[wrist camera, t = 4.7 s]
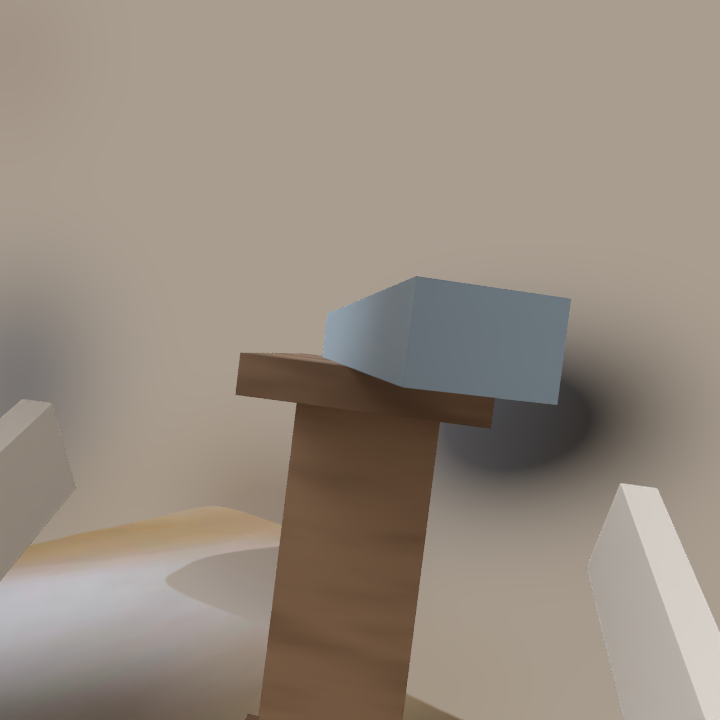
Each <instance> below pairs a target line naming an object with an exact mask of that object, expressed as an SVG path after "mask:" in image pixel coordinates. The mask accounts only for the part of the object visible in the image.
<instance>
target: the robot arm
mask: <svg viewBox="0 0 720 720" xmlns="http://www.w3.org/2000/svg"><path fill="white" fill-rule="evenodd" d="M75 489H76V487H75V483H74V480H73V476H72V472H71V469H70V465H69V462H68V458H67V454H66V450H65V447H64V443H63V440H62V436H61V432H60V429H59V425H58V421H57V418H56V414H55V410H54V407H53V404H52V403H47V402H39V401H33V400H25V399H22V400H21V401H20V402H19V403H18V404H16V405H15V406H14V407H13V408H12V409H11V410H9V411H8V412H7V413H6V414H5V415H4V416H2V417H1V418H0V581H1V579H2V578H3V577H4V576H5V574H6V573H7V572H8V571H9V570H10V568H11V567H12V566H13V565H14V563H15V562H16V561H17V560H18V559H19V557H20V556H21V555H22V554H23V552H24V551H25V550H26V549H27V548H28V546H29V545H30V544H31V543H32V541H33V540H34V539H35V538H36V537H37V535H38V534H39V533H40V532H41V530H42V529H43V528H44V527H45V526H46V524H47V523H48V522H49V521H50V519H51V518H52V517H53V516H54V515H55V513H56V512H57V511H58V510H59V508H60V507H61V506H62V505H63V503H64V502H65V501H66V500H67V499H68V497H69V496H70V494H72V493H73V491H74V490H75ZM587 571H588V576H589V580H590V584H591V588H592V592H593V596H594V601H595V605H596V609H597V613H598V617H599V621H600V626H601V630H602V634H603V638H604V642H605V646H606V651H607V655H608V659H609V663H610V667H611V671H612V676H613V680H614V684H615V688H616V692H617V696H618V700H619V705H620V709H621V713H622V717H623V720H720V632H719V630H718V627H717V625H716V623H715V620H714V618H713V616H712V614H711V612H710V609H709V607H708V604H707V602H706V600H705V598H704V595H703V593H702V591H701V588H700V586H699V584H698V582H697V579H696V577H695V574H694V572H693V570H692V567H691V566H690V563H689V561H688V558H687V556H686V554H685V551H684V549H683V547H682V545H681V542H680V540H679V538H678V536H677V533H676V531H675V528H674V526H673V524H672V522H671V519H670V517H669V515H668V512H667V510H666V508H665V505H664V503H663V501H662V498H661V496H660V494H659V491H658V489H657V488H650V487H644V486H637V485H630V484H622V483H620V486H619V488H618V491H617V493H616V496H615V498H614V500H613V503H612V505H611V508H610V510H609V513H608V516H607V518H606V520H605V523H604V525H603V528H602V530H601V533H600V535H599V538H598V540H597V543H596V545H595V548H594V550H593V553H592V555H591V558H590V560H589V562H588V565H587Z"/></svg>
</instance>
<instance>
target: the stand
mask: <svg viewBox="0 0 720 720" xmlns="http://www.w3.org/2000/svg"><path fill="white" fill-rule="evenodd" d="M236 395H242V396H249V397H257V398H264V399H272V400H280V401H287V402H294V403H297V405H296V413H295V422H294V430H293V438H292V447H291V456H290V463H289V471H288V480H287V488H286V496H285V504H284V513H283V521H282V529H281V538H280V546H279V555H278V562H277V571H276V579H275V587H274V595H273V604H272V612H271V620H270V629H269V637H268V645H267V653H266V662H265V670H264V678H263V686H262V695H261V703H260V711H259V716H256V715H251V714H248V715H247V717H246V719H245V720H402V718H403V710H404V702H405V695H406V687H407V678H408V671H409V670H408V669H409V663H410V654H411V647H412V639H413V631H414V623H415V615H416V607H417V599H418V591H419V583H420V576H421V568H422V560H423V552H424V544H425V536H426V528H427V520H428V512H429V504H430V496H431V488H432V480H433V472H434V465H435V457H436V448H437V440H438V432H439V425H440V422H445V423H452V424H459V425H467V426H474V427H482V428H490V429H491V423H492V416H493V408H494V399H495V398H493V397H484V396H475V395H467V394H458V393H449V392H440V391H431V390H422V389H414V388H405V387H401V386H398V385H395V384H393V383H390V382H387V381H385V380H382V379H379V378H377V377H374V376H371V375H369V374H366V373H363V372H361V371H358V370H356V369H353V368H350V367H348V366H345V365H342V364H340V363H337V362H334V361H332V360H329V359H326V358H324V357H322V356H317V355H309V354H293V353H240V361H239V369H238V378H237V387H236Z"/></svg>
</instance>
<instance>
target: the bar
mask: <svg viewBox="0 0 720 720" xmlns="http://www.w3.org/2000/svg"><path fill="white" fill-rule="evenodd" d="M570 302H571V299H568V298H561V297H554V296H548V295H541V294H534V293H527V292H521V291H514V290H507V289H499V288H493V287H486V286H480V285H472V284H466V283H459V282H452V281H445V280H439V279H432V278H425V277H418V276H416V277H413V278H411V279H409V280H406V281H404V282H402V283H399V284H397V285H394V286H392V287H390V288H387V289H385V290H383V291H380V292H378V293H375V294H373V295H371V296H368V297H366V298H364V299H361V300H359V301H357V302H354V303H352V304H349V305H347V306H345V307H342V308H340V309H338V310H335V311H333V312H330V313H328V315H327V323H326V331H325V339H324V347H323V355H322V357H324V358H326V359H329V360H332V361H334V362H337V363H340V364H342V365H345V366H348V367H350V368H353V369H356V370H358V371H361V372H363V373H366V374H369V375H371V376H374V377H377V378H379V379H382V380H385V381H387V382H390V383H393V384H395V385H398V386H401V387H405V388H414V389H422V390H431V391H440V392H449V393H458V394H467V395H475V396H484V397H493V398H502V399H512V400H520V401H528V402H537V403H547V404H555V405H557V402H558V394H559V387H560V378H561V371H562V364H563V355H564V348H565V340H566V333H567V325H568V318H569V310H570Z"/></svg>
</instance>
